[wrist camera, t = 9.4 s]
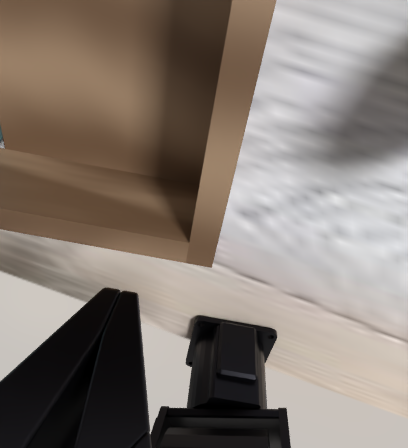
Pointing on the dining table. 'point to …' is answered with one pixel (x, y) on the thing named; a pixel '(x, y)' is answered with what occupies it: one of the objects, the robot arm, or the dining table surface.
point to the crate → (126, 119)
